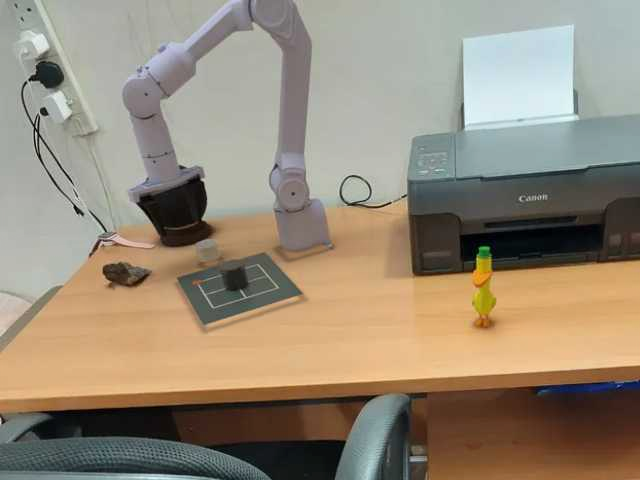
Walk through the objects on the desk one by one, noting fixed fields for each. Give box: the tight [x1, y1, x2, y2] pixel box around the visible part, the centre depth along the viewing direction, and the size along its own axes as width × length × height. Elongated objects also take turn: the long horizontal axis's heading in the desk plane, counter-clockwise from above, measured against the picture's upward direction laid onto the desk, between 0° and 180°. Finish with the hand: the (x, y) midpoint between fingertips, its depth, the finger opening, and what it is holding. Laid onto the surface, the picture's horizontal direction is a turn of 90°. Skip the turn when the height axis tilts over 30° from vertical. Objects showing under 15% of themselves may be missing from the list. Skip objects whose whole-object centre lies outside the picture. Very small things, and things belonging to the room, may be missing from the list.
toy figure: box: [471, 246, 497, 328], centre depth 98 cm, size 7×4×12 cm, turn 158°
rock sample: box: [101, 261, 153, 286], centre depth 128 cm, size 10×8×9 cm
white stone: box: [194, 238, 222, 263], centre depth 131 cm, size 4×4×4 cm
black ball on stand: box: [144, 164, 213, 248], centre depth 141 cm, size 13×13×15 cm
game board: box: [176, 251, 304, 326], centre depth 120 cm, size 18×22×1 cm
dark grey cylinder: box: [219, 258, 249, 291], centre depth 119 cm, size 4×4×4 cm
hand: (180, 228), depth 124 cm, fingers open, 7 cm apart
